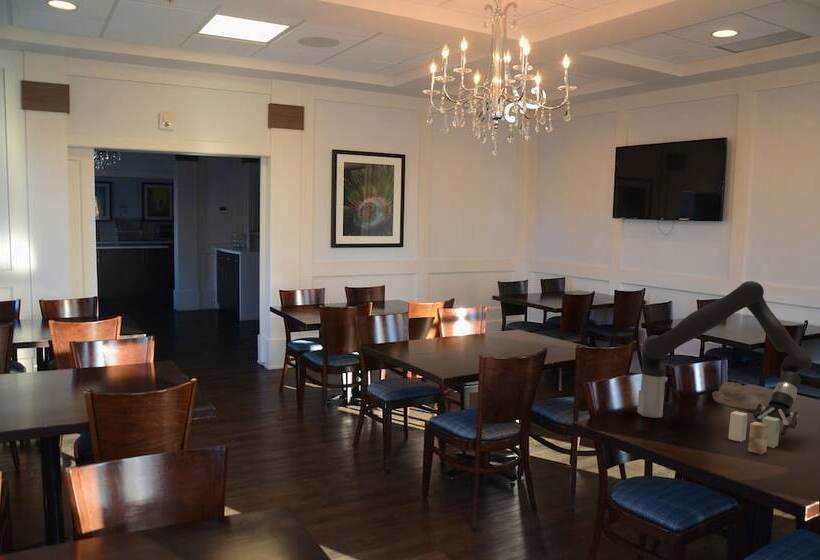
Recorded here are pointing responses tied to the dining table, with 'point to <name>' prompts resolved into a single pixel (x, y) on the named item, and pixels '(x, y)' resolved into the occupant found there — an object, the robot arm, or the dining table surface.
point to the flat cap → (740, 397)
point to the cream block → (738, 426)
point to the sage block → (772, 430)
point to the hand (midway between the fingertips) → (769, 432)
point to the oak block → (758, 437)
